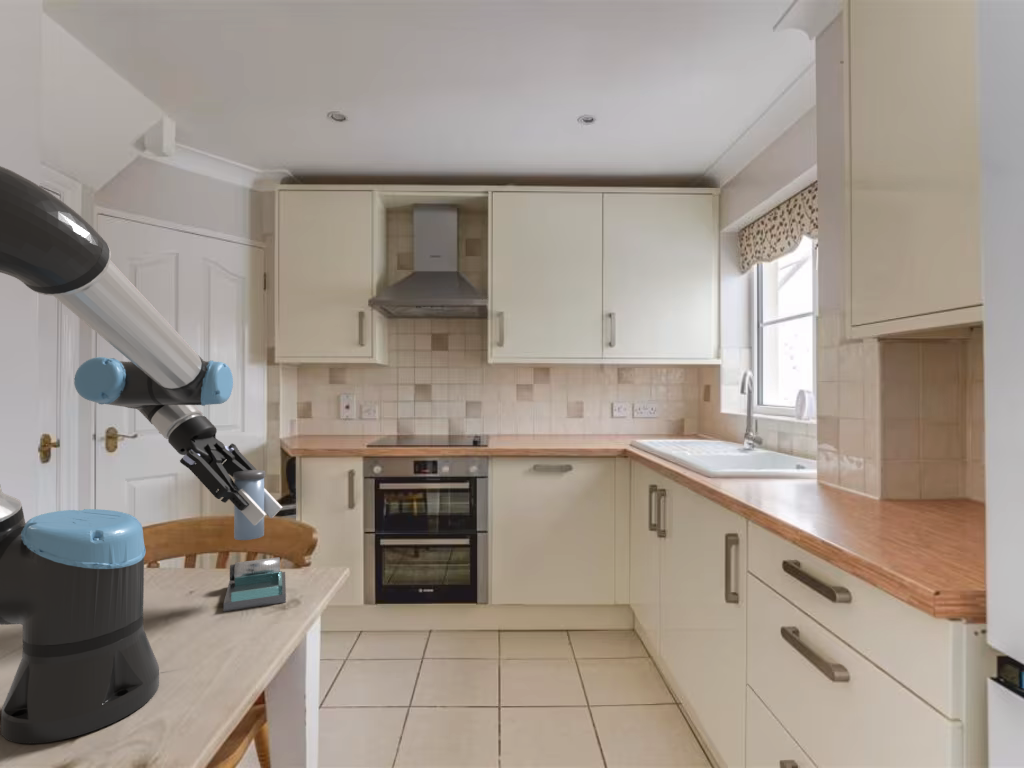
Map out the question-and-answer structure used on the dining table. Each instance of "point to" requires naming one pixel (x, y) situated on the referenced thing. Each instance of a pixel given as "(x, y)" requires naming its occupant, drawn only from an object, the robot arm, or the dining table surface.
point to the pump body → (255, 489)
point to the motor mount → (255, 584)
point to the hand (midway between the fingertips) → (268, 516)
